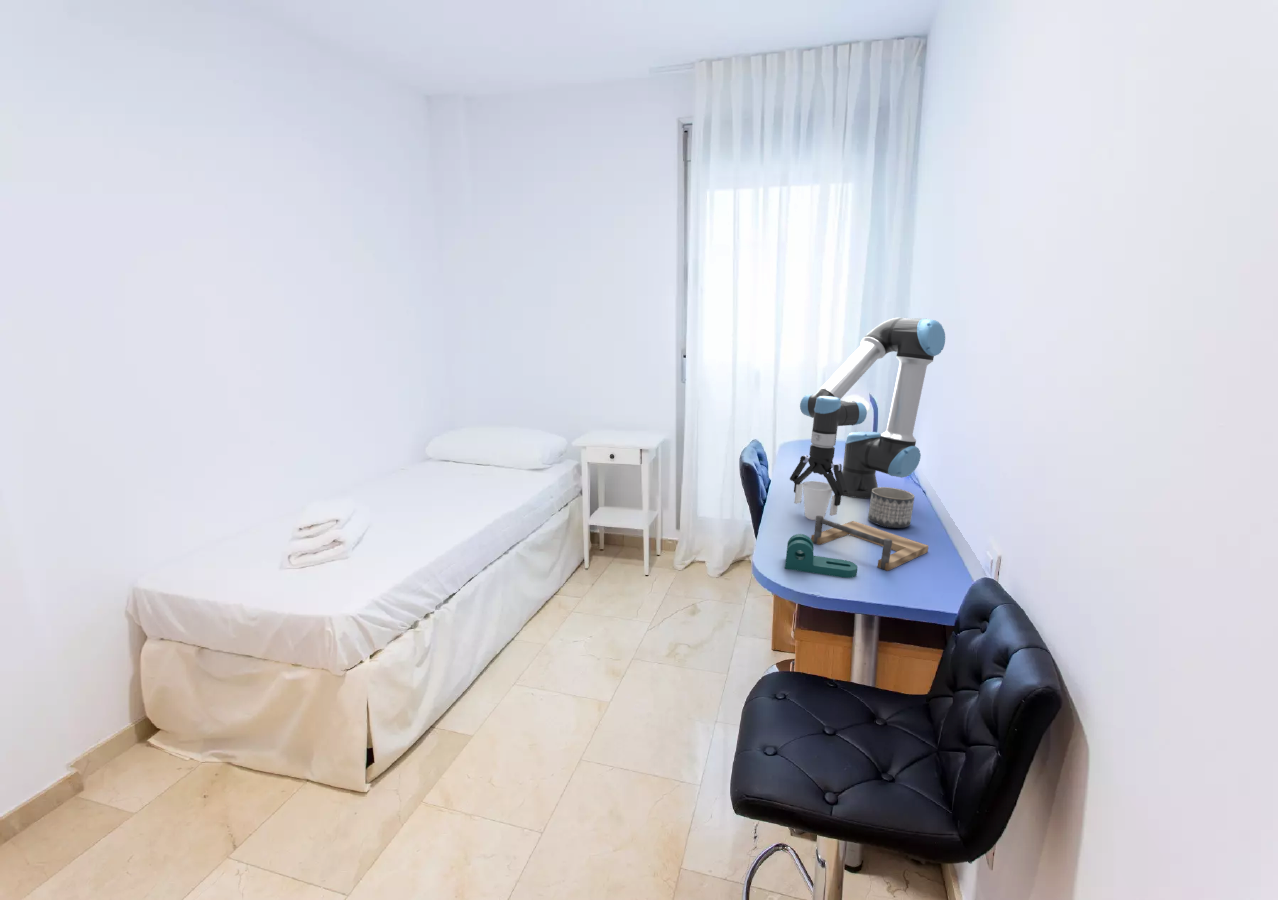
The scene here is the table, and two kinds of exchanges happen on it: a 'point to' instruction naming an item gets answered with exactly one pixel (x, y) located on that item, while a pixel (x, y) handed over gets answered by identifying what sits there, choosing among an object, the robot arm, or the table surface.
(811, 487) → the cup
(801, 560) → the bracket
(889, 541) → the wooden frame with crossbar
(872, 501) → the planter
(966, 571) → the table surface
